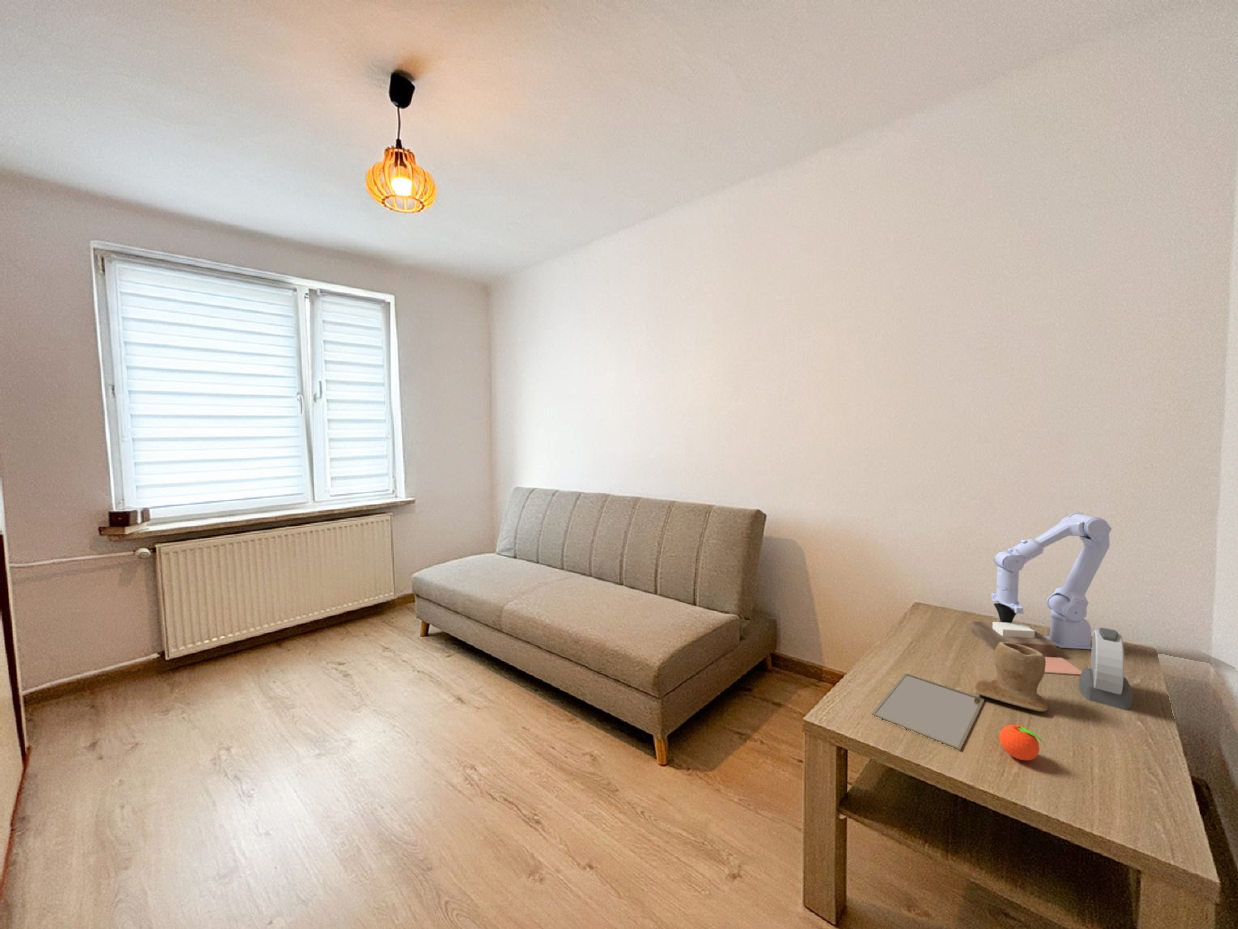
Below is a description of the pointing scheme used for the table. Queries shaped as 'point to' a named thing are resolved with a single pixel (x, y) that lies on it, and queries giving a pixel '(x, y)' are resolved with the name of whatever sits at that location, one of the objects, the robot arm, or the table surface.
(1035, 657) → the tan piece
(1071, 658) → the table surface
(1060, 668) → the mat
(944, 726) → the picture frame
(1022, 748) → the clementine
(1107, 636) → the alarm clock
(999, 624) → the tile
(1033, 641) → the plate
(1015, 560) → the robot arm
